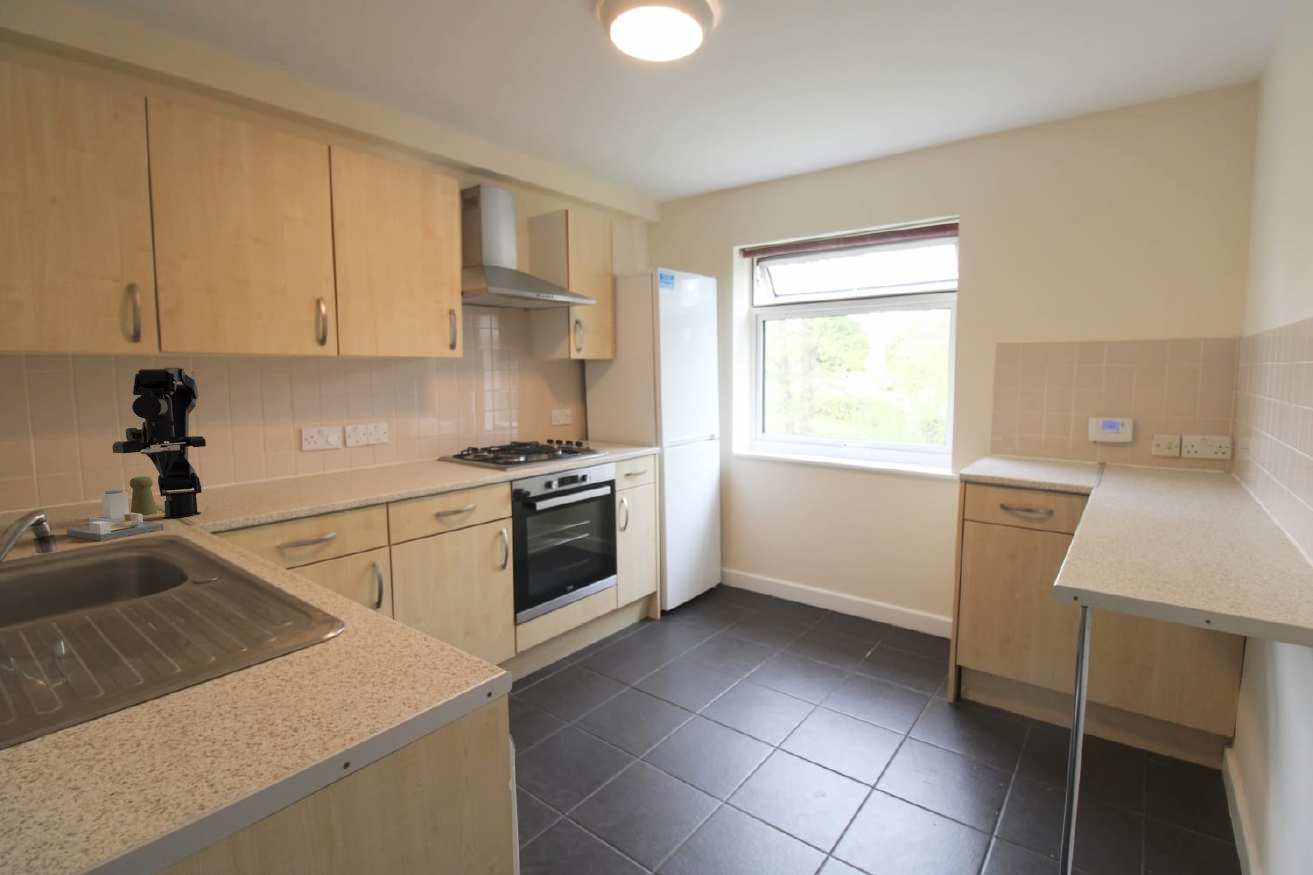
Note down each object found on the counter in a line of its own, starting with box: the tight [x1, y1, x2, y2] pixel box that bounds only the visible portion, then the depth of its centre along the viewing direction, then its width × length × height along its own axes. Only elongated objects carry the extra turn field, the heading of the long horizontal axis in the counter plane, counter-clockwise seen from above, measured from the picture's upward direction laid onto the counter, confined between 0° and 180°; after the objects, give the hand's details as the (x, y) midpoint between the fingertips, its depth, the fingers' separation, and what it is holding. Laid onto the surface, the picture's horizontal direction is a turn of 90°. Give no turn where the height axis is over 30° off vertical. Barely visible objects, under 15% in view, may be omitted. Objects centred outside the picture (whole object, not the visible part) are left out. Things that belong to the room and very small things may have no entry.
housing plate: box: [65, 511, 165, 542], centre depth 159 cm, size 13×17×4 cm
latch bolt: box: [110, 512, 139, 531], centre depth 155 cm, size 6×3×3 cm, turn 154°
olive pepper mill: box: [129, 476, 158, 516], centre depth 182 cm, size 6×6×11 cm
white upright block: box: [100, 489, 130, 519], centre depth 162 cm, size 4×4×9 cm
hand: (164, 477), depth 164 cm, fingers closed
